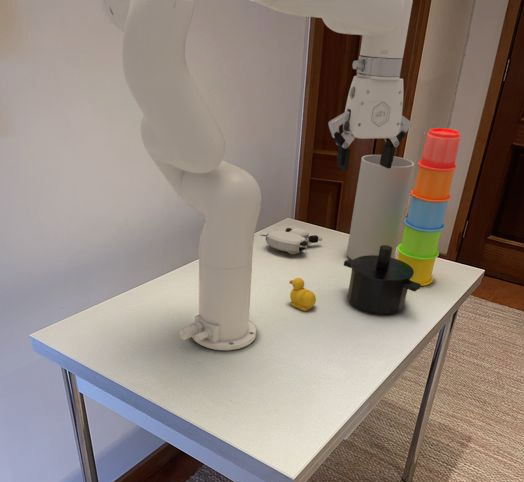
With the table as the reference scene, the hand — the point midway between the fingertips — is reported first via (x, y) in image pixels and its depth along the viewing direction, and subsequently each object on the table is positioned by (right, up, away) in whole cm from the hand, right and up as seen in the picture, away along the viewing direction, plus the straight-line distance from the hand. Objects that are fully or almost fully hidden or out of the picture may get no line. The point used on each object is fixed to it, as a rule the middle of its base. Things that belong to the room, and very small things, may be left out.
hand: (364, 167), depth 103 cm
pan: (+5, -25, +15) cm, 30 cm away
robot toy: (-12, -8, +40) cm, 43 cm away
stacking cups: (+17, -18, +28) cm, 38 cm away
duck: (-11, -26, +11) cm, 31 cm away
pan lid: (+6, -18, +11) cm, 22 cm away
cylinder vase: (+9, -11, +38) cm, 40 cm away
